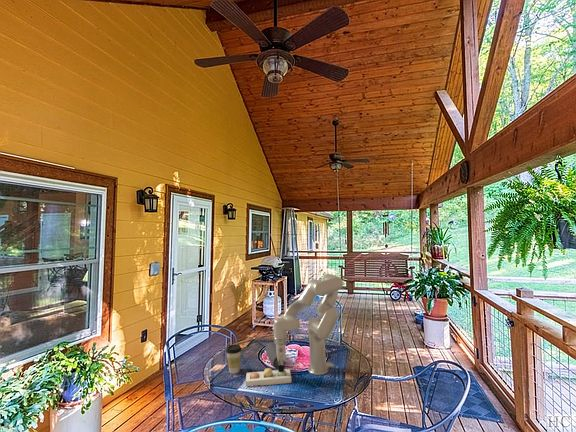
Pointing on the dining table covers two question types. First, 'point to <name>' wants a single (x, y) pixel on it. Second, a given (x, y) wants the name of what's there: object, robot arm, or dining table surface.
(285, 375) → the button sage
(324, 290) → the robot arm
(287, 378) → the console
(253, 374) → the button terracotta
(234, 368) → the coffee cup
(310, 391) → the dining table surface
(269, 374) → the button ochre
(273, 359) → the bluetooth speaker
